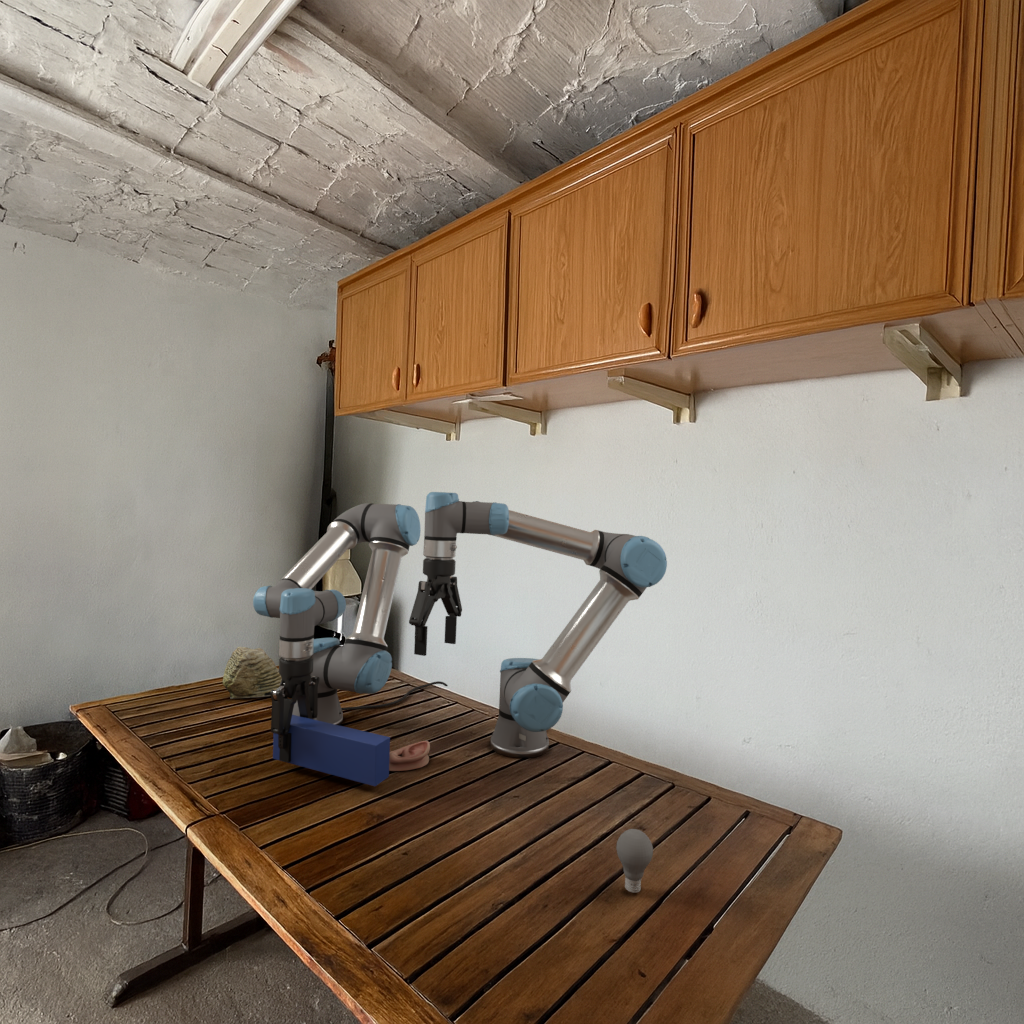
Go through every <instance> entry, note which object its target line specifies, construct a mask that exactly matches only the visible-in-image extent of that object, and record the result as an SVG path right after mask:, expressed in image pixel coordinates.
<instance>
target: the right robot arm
mask: <svg viewBox="0 0 1024 1024" xmlns="http://www.w3.org/2000/svg"><path fill="white" fill-rule="evenodd" d="M425 497H426V498H425V510H424V534H423V536H424V537H423V538H424V539H423V552H422V555H423V557H424V558H423V560H422V574H423V575H424V576H426V581H425V580H419V581H418V586H417V593H416V595H415V599H414V603H413V606H412V609H411V613H410V616H409V620H408V624H409V625H410V626H413V627H414V647H413V649H414V650H413V655H416V656H422V657H425V656H427V651H428V650H427V648H428V647H427V646H428V645H427V644H428V626H427V622H428V620H429V617H430V615H431V612H432V610H433V608H434V606H435V603H437V602H438V601H439V600H441V602H442V604H443V607H444V609H445V611H446V613H447V615H445V617H444V618H445V619H444V620H445V621H444V622H445V623H444V624H445V625H444V644H449V645H456V644H457V624H458V623H457V622H458V621H457V620H458V617H460V618H461V617H462V612H463V605H462V602H461V597H460V596H461V595H460V592H459V588H458V587H459V586H458V577H457V576H455V574H456V563H457V562H456V559H454V558H455V557H456V556H457V555H456V554H457V548H458V546H457V538H458V537H457V534H472V535H488V536H492V537H496V538H499V539H503V540H507V541H512V542H514V543H519V544H523V545H526V546H530V547H534V548H538V549H541V550H544V551H549V552H552V553H555V554H560V555H563V556H567V557H571V558H574V559H578V560H581V561H583V562H584V564H585V565H586V566H590V567H593V568H596V569H598V572H599V580H598V582H597V584H596V585H595V586H594V588H593V589H592V590H591V591H590V592H589V594H588V595H587V597H586V599H585V600H584V601H583V603H581V605H580V607H579V608H578V609H577V611H575V613H574V615H573V616H572V618H571V619H570V620H569V621H568V622H567V624H566V626H565V627H564V628H563V629H562V631H561V632H560V633H559V635H558V636H557V637H556V639H555V640H554V642H553V643H552V645H551V646H550V647H549V649H548V650H547V651H546V652H545V654H544V655H543V656H542V658H533V657H532V658H531V657H511V658H506V659H503V660H502V661H501V664H500V669H499V673H500V674H499V675H500V680H499V701H498V717H497V720H496V723H495V726H494V730H493V732H492V734H491V736H490V748H491V750H493V751H494V752H495V753H496V754H499V755H502V756H506V757H510V758H516V759H528V758H529V759H530V758H536V757H540V756H542V755H544V754H546V753H547V752H549V750H550V749H549V748H550V740H549V736H548V732H547V731H548V730H550V729H552V728H553V727H554V726H555V725H556V724H558V722H559V721H560V719H561V717H562V715H563V710H564V704H563V703H564V702H565V700H566V699H567V698H568V696H569V695H570V694H571V693H572V684H571V682H572V680H573V679H574V677H575V676H576V675H577V673H578V671H579V670H580V669H581V667H582V666H583V664H584V663H585V662H586V661H587V659H588V658H589V656H590V655H591V654H592V652H593V651H594V650H595V649H596V647H597V645H598V644H599V643H600V641H601V640H602V639H603V637H604V636H605V635H606V633H607V632H608V630H609V629H610V628H611V627H612V625H613V623H615V621H616V620H617V618H618V617H619V616H620V614H621V613H622V611H623V609H624V608H625V607H626V606H627V605H628V603H629V602H630V601H635V600H639V599H640V597H641V596H642V594H644V593H645V591H646V590H647V588H651V587H653V586H655V585H657V584H659V582H661V580H662V579H663V578H664V577H665V574H666V572H667V568H668V560H667V554H666V552H665V550H664V548H663V547H662V546H661V544H659V542H657V541H656V540H654V539H653V538H652V539H651V538H649V537H647V536H644V535H633V534H629V533H616V532H615V533H614V532H607V531H602V530H599V529H594V530H592V531H588V530H583V529H581V528H577V527H573V526H569V525H566V524H562V523H560V522H559V523H558V522H554V521H551V520H547V519H545V518H544V519H543V518H540V517H536V516H533V515H529V514H526V513H522V512H518V511H514V510H511V509H509V506H508V505H507V504H506V503H500V502H485V501H478V500H476V501H463V500H460V499H459V494H458V493H457V492H445V491H444V492H443V491H431V492H429V493H428V494H427V495H426V496H425Z"/></svg>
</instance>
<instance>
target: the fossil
mask: <svg viewBox="0 0 1024 1024" xmlns="http://www.w3.org/2000/svg"><path fill="white" fill-rule="evenodd" d="M222 676H223V677H222V685H223V687H224V688H225V690H226V691H228V693H229V698H230V699H250V698H264V697H271V695H270V692H271V690H276V689H278V688H279V687H280V683H281V680H282V677H281V675H280V674H279V667H277V665H276V663H275V662H274V660H273V659H272V658H271V657H270V656H269V655H268V654H267V653H266V652H265V650H264V649H263V648H260V647H258V648H251V647H247V646H246V647H245V646H238V647H237V648H236V649H235V650H233V651H232V653H231V656H230V657H229V659H228V660H227V663H226V666H225V668H224V671H223V675H222Z"/></svg>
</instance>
